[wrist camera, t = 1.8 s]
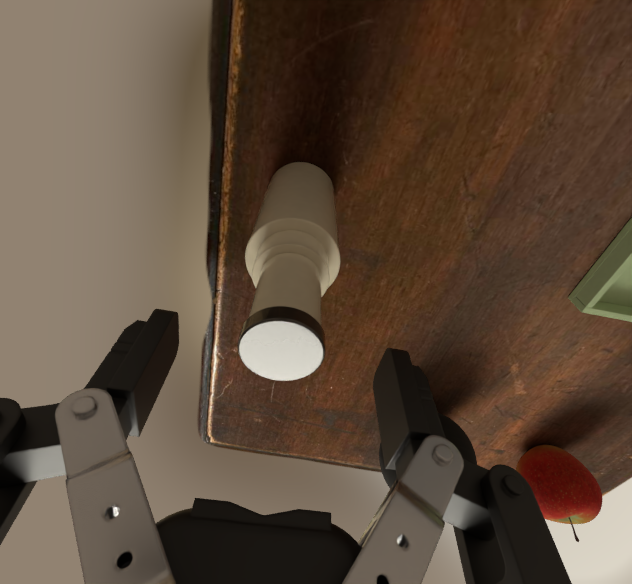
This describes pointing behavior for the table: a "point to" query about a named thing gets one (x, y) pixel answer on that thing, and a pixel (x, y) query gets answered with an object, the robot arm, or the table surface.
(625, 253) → the tray
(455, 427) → the black ball
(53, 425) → the robot arm
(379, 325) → the table surface
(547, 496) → the apple
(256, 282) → the bottle
